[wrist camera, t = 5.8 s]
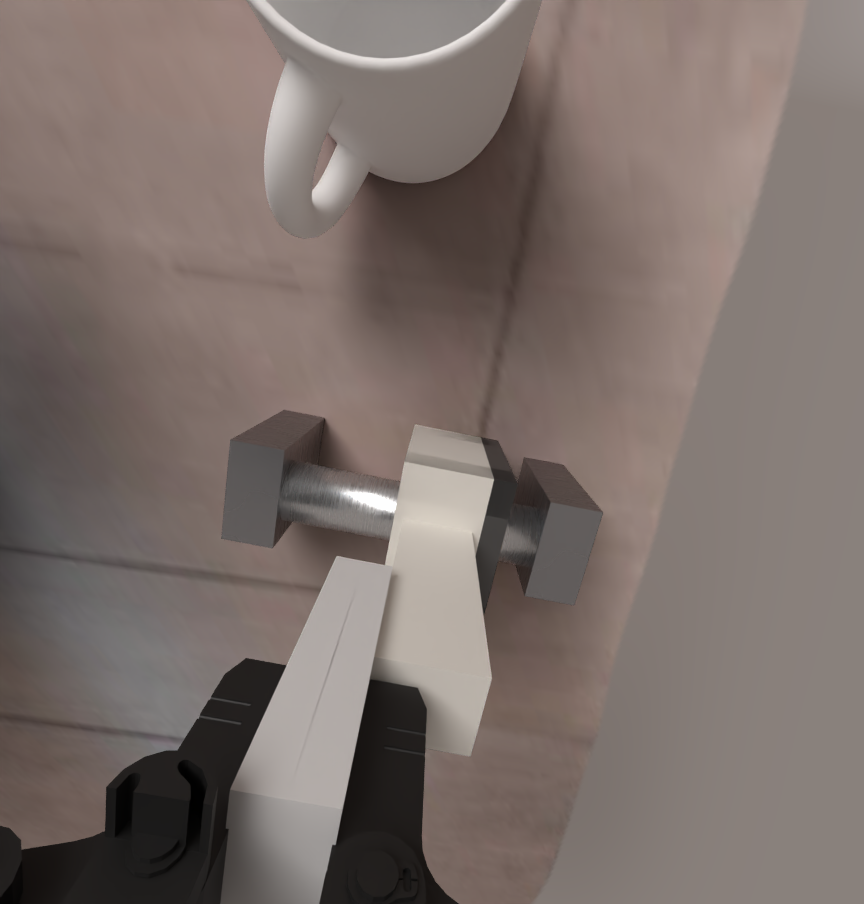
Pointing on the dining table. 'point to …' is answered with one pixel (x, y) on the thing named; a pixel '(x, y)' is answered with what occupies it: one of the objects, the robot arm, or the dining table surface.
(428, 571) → the sleeve
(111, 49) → the dining table surface
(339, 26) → the mug
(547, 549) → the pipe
